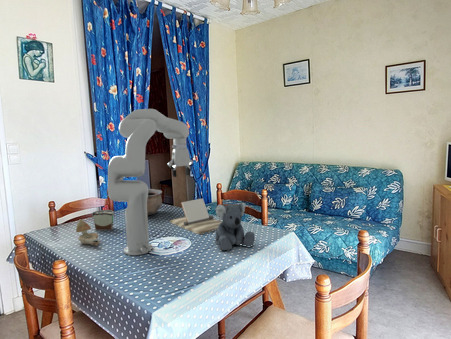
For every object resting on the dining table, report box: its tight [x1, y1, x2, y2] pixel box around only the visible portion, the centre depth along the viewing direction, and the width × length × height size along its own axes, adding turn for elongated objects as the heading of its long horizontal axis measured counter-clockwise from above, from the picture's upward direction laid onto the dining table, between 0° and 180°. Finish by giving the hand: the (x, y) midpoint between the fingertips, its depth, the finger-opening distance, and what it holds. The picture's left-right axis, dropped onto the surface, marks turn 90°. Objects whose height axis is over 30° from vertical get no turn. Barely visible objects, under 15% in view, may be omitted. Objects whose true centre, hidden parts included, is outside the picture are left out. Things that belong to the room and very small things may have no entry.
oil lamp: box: [75, 218, 101, 246], centre depth 151 cm, size 9×21×10 cm, turn 42°
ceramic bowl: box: [126, 188, 163, 216], centre depth 201 cm, size 22×22×15 cm
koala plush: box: [214, 202, 256, 251], centre depth 144 cm, size 17×18×20 cm
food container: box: [91, 209, 115, 231], centre depth 174 cm, size 12×6×10 cm, turn 84°
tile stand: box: [169, 215, 223, 235], centre depth 177 cm, size 30×20×4 cm, turn 39°
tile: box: [180, 198, 210, 224], centre depth 179 cm, size 13×14×2 cm
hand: (181, 175), depth 187 cm, fingers open, 8 cm apart
